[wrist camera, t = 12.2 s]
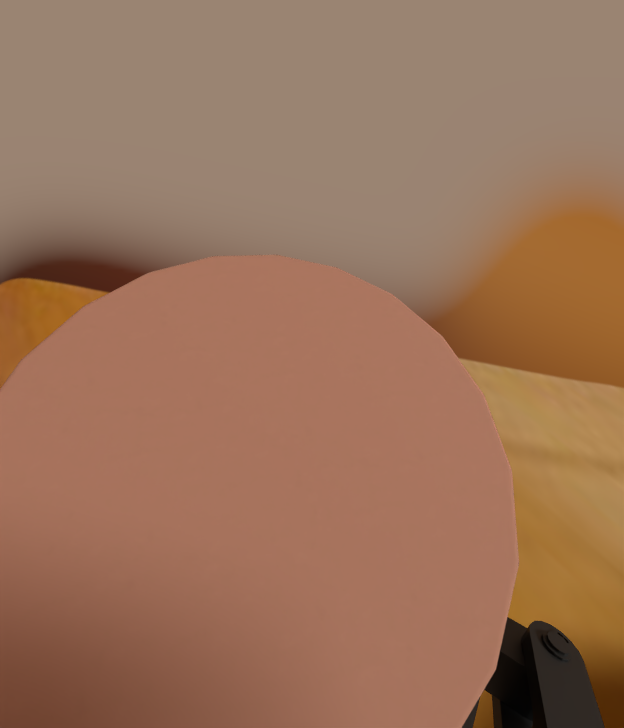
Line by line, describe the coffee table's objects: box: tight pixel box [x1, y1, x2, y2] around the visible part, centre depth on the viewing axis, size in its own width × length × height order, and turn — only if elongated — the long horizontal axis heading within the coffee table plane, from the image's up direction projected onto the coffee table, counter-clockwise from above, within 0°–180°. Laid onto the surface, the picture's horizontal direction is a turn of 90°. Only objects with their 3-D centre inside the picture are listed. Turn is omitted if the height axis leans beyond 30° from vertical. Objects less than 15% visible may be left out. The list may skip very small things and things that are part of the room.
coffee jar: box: [0, 255, 519, 728], centre depth 14 cm, size 11×11×18 cm
